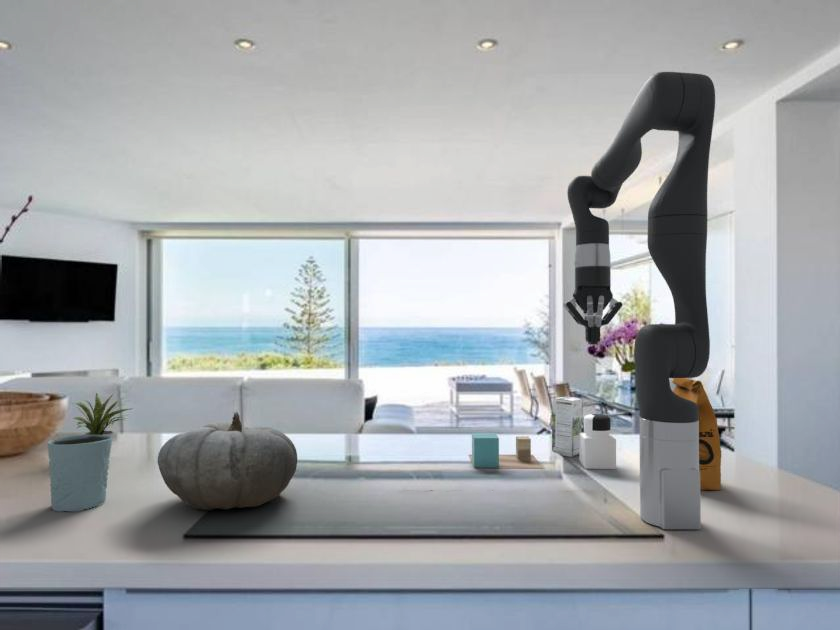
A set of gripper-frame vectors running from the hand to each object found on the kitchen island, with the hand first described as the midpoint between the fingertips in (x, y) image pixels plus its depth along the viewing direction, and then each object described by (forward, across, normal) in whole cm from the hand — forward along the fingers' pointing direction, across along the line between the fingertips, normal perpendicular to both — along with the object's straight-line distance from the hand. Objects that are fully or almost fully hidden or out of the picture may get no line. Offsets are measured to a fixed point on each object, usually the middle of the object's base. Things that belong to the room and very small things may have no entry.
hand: (593, 344), depth 124 cm
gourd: (+29, -74, -17) cm, 81 cm away
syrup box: (+29, 0, +22) cm, 37 cm away
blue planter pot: (+29, -101, -19) cm, 107 cm away
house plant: (+29, -118, +16) cm, 123 cm away
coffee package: (+29, +19, -5) cm, 35 cm away
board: (+29, -18, +10) cm, 36 cm away
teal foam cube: (+28, -23, +7) cm, 37 cm away
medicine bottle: (+29, +4, +10) cm, 31 cm away
